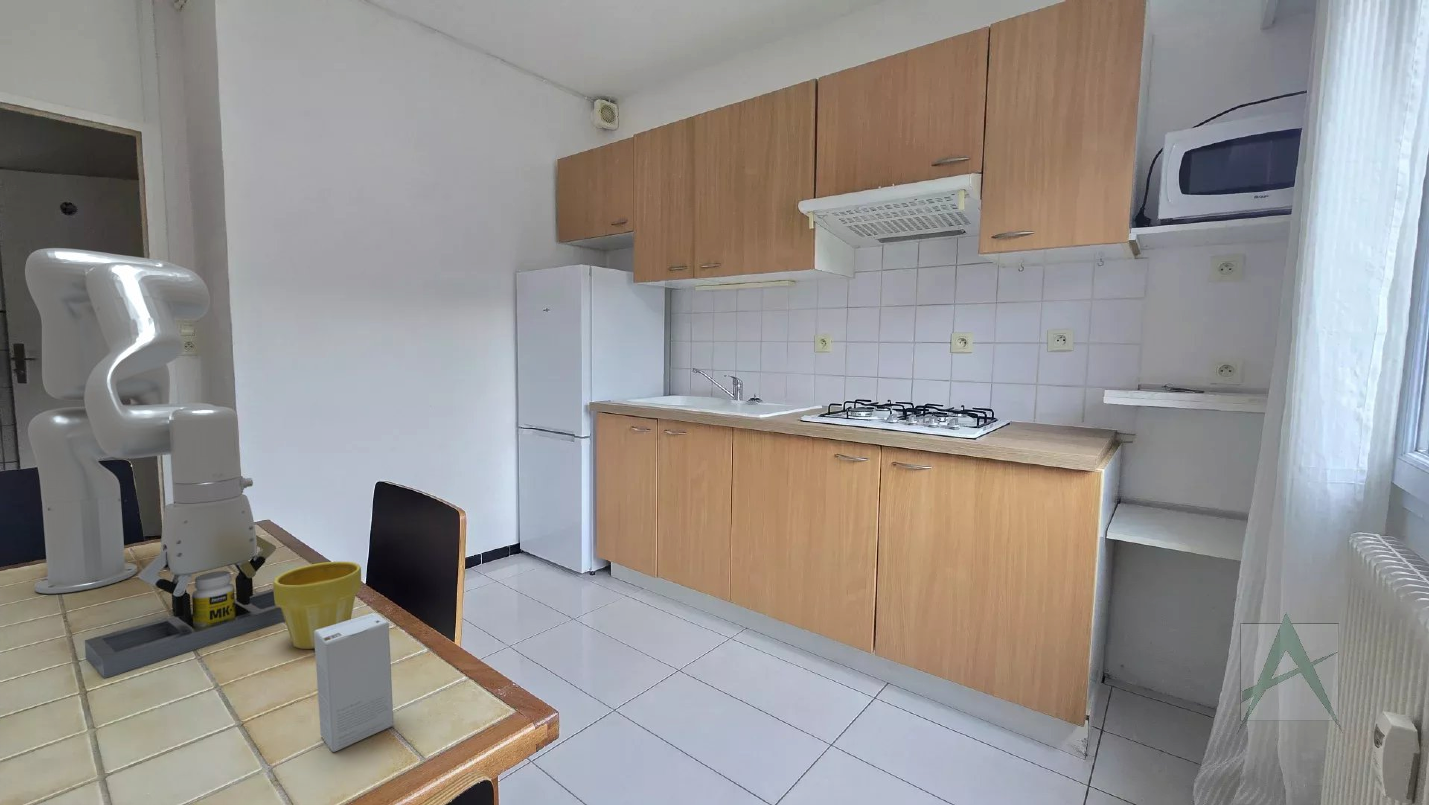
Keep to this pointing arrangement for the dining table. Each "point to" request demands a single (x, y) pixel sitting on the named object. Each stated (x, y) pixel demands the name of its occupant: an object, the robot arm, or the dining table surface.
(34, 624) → the dining table surface
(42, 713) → the dining table surface
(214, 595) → the supplement bottle
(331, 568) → the plant pot
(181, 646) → the grey long slotted tray
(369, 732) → the skincare box
